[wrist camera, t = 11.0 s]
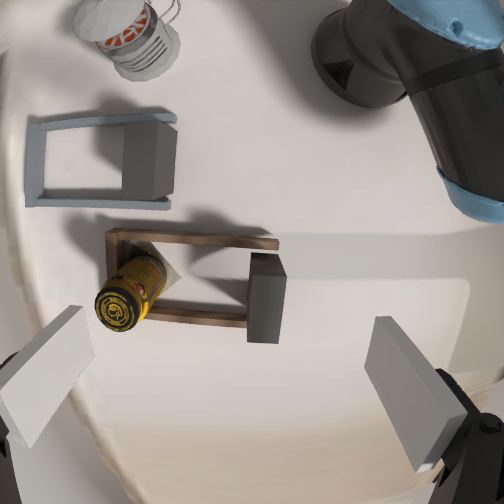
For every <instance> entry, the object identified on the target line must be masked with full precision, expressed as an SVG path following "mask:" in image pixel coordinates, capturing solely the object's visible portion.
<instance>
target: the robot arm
mask: <svg viewBox="0 0 504 504" xmlns="http://www.w3.org/2000/svg"><path fill="white" fill-rule="evenodd" d="M503 41H504V12H503V9H502V7H501V5H500V3H499V2H498V0H352V1H351V3H350V4H349V6H348V7H347V8H344V9H341V10H338V11H335V12H333V13H331V14H330V15H328V16H327V17H326V18H325V19H324V20H323V21H322V22H321V23H320V25H319V27H318V28H317V30H316V32H315V34H314V37H313V40H312V58H313V62H314V65H315V67H316V69H317V71H318V73H319V75H320V77H321V78H322V80H323V81H324V82H325V83H326V85H327V86H328V87H329V88H330V89H331V90H332V91H334V92H335V93H336V94H337V95H339V96H340V97H342V98H343V99H345V100H347V101H349V102H351V103H353V104H356V105H359V106H362V107H367V108H381V107H386V106H389V105H392V104H394V103H397V102H399V101H401V100H402V99H404V98H405V97H406V96H407V95H408V96H409V98H410V100H411V102H412V105H413V107H414V109H415V111H416V113H417V116H418V118H419V120H420V123H421V125H422V127H423V130H424V132H425V135H426V137H427V140H428V142H429V145H430V147H431V150H432V153H433V155H434V158H435V161H436V164H437V171H438V173H439V175H440V177H441V178H442V179H443V181H444V184H445V187H446V189H447V192H448V195H449V198H450V200H451V202H452V203H453V205H454V206H455V207H456V208H457V209H459V210H460V211H461V212H462V213H463V214H464V215H466V216H468V217H470V218H472V219H475V220H478V221H482V222H487V223H494V224H504V54H503V52H502V49H501V47H500V46H501V44H502V43H503ZM501 65H502V66H501ZM468 75H469V76H468ZM450 81H451V82H450ZM447 82H448V83H447ZM444 83H445V84H444ZM441 84H442V85H441ZM438 85H439V86H438ZM430 88H431V89H430ZM427 89H428V90H427ZM422 91H423V92H422ZM419 92H420V93H419ZM414 94H415V95H414ZM93 358H94V352H93V348H92V344H91V339H90V335H89V330H88V326H87V321H86V316H85V311H84V306H76V305H70V306H69V307H68V308H66V309H65V310H64V311H63V312H62V313H61V314H60V315H58V316H57V317H56V318H55V319H54V320H53V321H52V322H51V323H49V324H48V325H47V326H46V327H45V328H44V329H43V330H42V331H41V332H40V333H38V334H37V335H36V336H35V337H34V338H33V339H32V340H31V341H30V342H29V343H28V344H27V345H26V346H24V347H23V348H22V349H21V350H20V351H18V352H16V353H14V354H13V355H11V356H9V357H8V358H7V359H6V360H5V361H4V362H3V364H1V365H0V504H22V502H21V499H20V495H19V491H18V487H17V483H16V478H15V474H14V469H13V464H12V459H11V452H10V446H9V442H8V440H7V438H6V436H7V434H8V433H9V432H10V433H11V435H12V437H13V438H14V440H15V442H16V443H18V444H20V445H23V446H25V447H27V448H29V449H31V447H32V446H33V444H34V443H35V441H36V439H37V438H38V437H39V435H40V434H41V432H42V430H43V429H44V427H45V426H46V424H47V423H48V421H49V420H50V418H51V417H52V415H53V414H54V413H55V411H56V410H57V408H58V407H59V405H60V404H61V402H62V401H63V399H64V398H65V397H66V395H67V394H68V392H69V391H70V389H71V388H72V387H73V385H74V384H75V382H76V381H77V380H78V378H79V377H80V375H81V374H82V373H83V371H84V370H85V369H86V367H87V366H88V364H89V363H90V362H91V360H92V359H93ZM364 368H365V370H366V372H367V374H368V376H369V378H370V380H371V382H372V384H373V386H374V388H375V390H376V392H377V394H378V396H379V398H380V400H381V402H382V404H383V406H384V408H385V410H386V412H387V414H388V416H389V418H390V420H391V422H392V424H393V426H394V428H395V430H396V432H397V434H398V437H399V439H400V441H401V443H402V445H403V447H404V449H405V451H406V454H407V456H408V458H409V460H410V462H411V464H412V467H413V469H414V471H415V473H419V472H423V471H426V470H429V469H433V468H434V467H435V466H436V464H437V463H438V461H439V460H440V458H442V460H443V462H444V464H445V465H444V466H443V468H442V469H441V471H440V472H439V473H438V475H437V476H436V477H435V479H434V480H433V483H435V482H436V481H437V483H436V486H435V488H434V491H433V493H432V496H431V498H430V500H429V503H428V504H504V423H503V422H502V420H501V419H500V418H499V417H497V416H496V415H493V414H491V413H480V411H479V410H478V409H477V408H476V406H475V405H474V404H473V402H472V401H471V400H470V399H469V397H468V396H467V395H466V394H465V392H464V391H462V389H461V387H460V386H459V385H457V382H456V381H455V380H454V379H453V377H452V376H451V375H450V374H448V373H447V372H445V371H444V370H442V369H441V368H439V369H434V368H433V367H432V365H431V364H430V363H429V362H428V360H427V359H426V358H425V357H424V355H423V354H422V353H421V352H420V350H419V349H418V348H417V347H416V346H415V344H414V343H413V342H412V341H411V339H410V338H409V337H408V336H407V335H406V333H405V332H404V331H403V330H402V329H401V327H400V326H399V325H398V324H397V323H396V322H395V320H394V319H393V318H392V317H391V316H382V317H376V318H375V323H374V328H373V332H372V337H371V341H370V346H369V350H368V354H367V358H366V362H365V366H364ZM437 479H438V480H437Z"/></svg>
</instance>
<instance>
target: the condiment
mask: <svg viewBox="0 0 504 504" xmlns="http://www.w3.org/2000/svg"><path fill="white" fill-rule="evenodd" d="M124 251H125V263H126V264H125V265H124V266H123V267H122V268H121V269H120V270H119V271H117V272H116V273H115V274H114V275H113V276H112V277H110V278H109V279H108V280H107V281H106V283H105V284H104V286H103V289H102V290H101V291H100V292H99V293H98V295H97V297H96V299H95V306H94V307H95V311H96V314H97V317H98V318H99V320H100V321H101V322H102V323H103V324H104V325H105V326H106V327H107V328H109V329H111V330H113V331H116V332H124V331H127V330H130V329H132V328H133V327H134V326H135V325H136V323H137V322H139V321H141V320H142V319H143V318H144V317H145V316H146V314H147V313H148V311H149V309H150V308H151V306H152V305H153V303H154V302H155V300H156V299H157V297H158V296H159V295H160V294H162V293H163V292H164V291H165V290H167V289H168V288H169V287H170V286H172V285H173V284H174V283H176V282H177V281H178V280H179V279H180V278H181V277H180V276H179V275H178V274H177V273H176V272H175V270H174V269H173V268H172V267H171V266H170V265H169V263H168V262H167V261H166V260H165V259H164V257H163V256H162V255H161V254H160V253H159V252H158V251H157V250H156V248H155V247H154V246H153V245H152V243H151V242H150V241H138V240H130V241H129V242H128V243H127V244H126V245H125V246H124ZM149 253H150V254H149Z"/></svg>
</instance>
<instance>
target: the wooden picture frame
mask: <svg viewBox="0 0 504 504" xmlns="http://www.w3.org/2000/svg"><path fill="white" fill-rule="evenodd" d="M105 238H106V263H107V279H109V278H110V277H112V276H113V275H114V274H115V273H116V272H117V271H119V270H120V269H121V268H122V267H123V266H124V265H125V251H124V240H138V241H152V242H166V243H181V244H195V245H209V246H223V247H237V248H251V249H265V250H279V241H278V239H270V238H257V237H243V236H229V235H215V234H200V233H185V232H170V231H154V230H138V229H121V228H114V229H112V230H109V231H107V232H105ZM286 281H287V276H286V274H285V271H284V268H283V266H282V263H281V261H280V258H279V256H278V254H268V253H254V252H252V253H251V261H250V273H249V285H248V298H247V315H239V314H225V313H212V312H200V311H189V310H178V309H168V308H159V307H151V308H150V309H149V311H148V313H147V314H146V316H145V317H144V318H143V319H151V320H159V321H168V322H178V323H188V324H199V325H210V326H223V327H237V328H247V342H251V343H272V344H278V342H279V335H280V327H281V320H282V312H283V305H284V297H285V289H286Z"/></svg>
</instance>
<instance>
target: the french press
mask: <svg viewBox="0 0 504 504" xmlns="http://www.w3.org/2000/svg"><path fill="white" fill-rule="evenodd" d="M147 1H148V2H149V4H151V3H152V2H151V0H147ZM174 3H175V0H173V2H172V6H171V7H170V8H169V9H168V10H167V11H166V12H165V13H164V14H162V15H161V16H160V18H159V17H158V15H157V14H156V12H155V10H154V9H153V8H152V7H151V6H150V5H149V4H147V3H146V2H145V0H82V2H81V3H80V4H79V6H78V7H77V9H76V12H75V15H74V18H73V28H74V31H75V33H76V34H77V36H78V37H79V38H80V39H83V40H86V41H89V42H95V43H96V44H97V46H98V48H99V49H100V50H101V51H102V52H103V53H104V54H106V55H107V56H108V57H109V58H111V59H112V60H113V61H114V65H115V69H116V70H117V72H118V73H119V74H120V75H121V77H123V78H125V79H128V80H130V81H132V82H136V81H148V80H150V79H153V78H156V77H158V76H160V75H161V74H163V73H164V72H165V71H166V70H168V69H169V68H170V67H171V66H172V64H173V63H174V61H175V60H176V58H177V57H178V53H179V49H180V40H179V36H178V33H177V32H176V31H175V30H174V29H173V28H172V27H171V26H170V25H168V24H169V23H170V22H172V21H173V20H174V19H175V18H176V17H177V16H178V14H179V12H180V10H181V3H180V1H179V0H177V3H178V6H179V8H178V12H177V14H176V15H175V16H174V17H173V18H172V19H171V20H170V21H169V22H168V23H167V24H165V23H163V21H162V17H163V16H164V15H165V14H166V13H167V12H168V11H170V9H171V8H172V7H173V6H174ZM151 20H152V21H151Z"/></svg>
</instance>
